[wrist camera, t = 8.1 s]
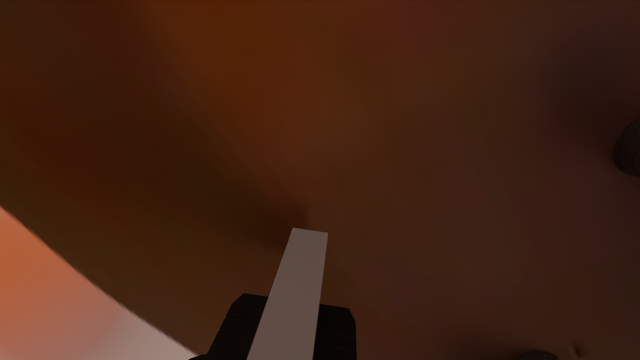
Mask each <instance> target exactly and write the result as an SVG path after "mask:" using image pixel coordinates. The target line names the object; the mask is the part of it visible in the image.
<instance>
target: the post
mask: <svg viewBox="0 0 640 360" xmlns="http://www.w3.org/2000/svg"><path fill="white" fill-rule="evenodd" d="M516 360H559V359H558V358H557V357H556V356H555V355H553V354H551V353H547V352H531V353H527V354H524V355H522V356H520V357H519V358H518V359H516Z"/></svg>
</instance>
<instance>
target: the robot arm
mask: <svg viewBox="0 0 640 360" xmlns="http://www.w3.org/2000/svg"><path fill="white" fill-rule="evenodd" d="M327 238H328V233H326V232H319V231H312V230H305V229H298V228H293V229H292V232H291V235H290V237H289V240H288V243H287V246H286V249H285V252H284V255H283V257H282V260H281V263H280V266H279V269H278V272H277V275H276V277H275V280H274V283H273V286H272V289H271V292H270V295H269V297H266V296H259V295H253V294H246V293H243V294H242V295H241V296H240V297H239V298H238V299H237V300H236V301H234V302H233V303H232V305H231V307H230V309H229V311H228V313H227V315H226V318H225V319H224V321H223V323H222V325H221V327H220V331H218V333H217V335H216V337H215V339H214V341H213V343H212V345H211V347H210V349H209V351H208V353H207V354H202V355H199V356H197V357H194V358H191V359H189V360H357V355H356V322H355V320H354V318H353V316H352V314H351V312H350V310H349V308H343V307H336V306H330V305H324V304H319V302H320V294H321V286H322V278H323V270H324V262H325V254H326V246H327Z"/></svg>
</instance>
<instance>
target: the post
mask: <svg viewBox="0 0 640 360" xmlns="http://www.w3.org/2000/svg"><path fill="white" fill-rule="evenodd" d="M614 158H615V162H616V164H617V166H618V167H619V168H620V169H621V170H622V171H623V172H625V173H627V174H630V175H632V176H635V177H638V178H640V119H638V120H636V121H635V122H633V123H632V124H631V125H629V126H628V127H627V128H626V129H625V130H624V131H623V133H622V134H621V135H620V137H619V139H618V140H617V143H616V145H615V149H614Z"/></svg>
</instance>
